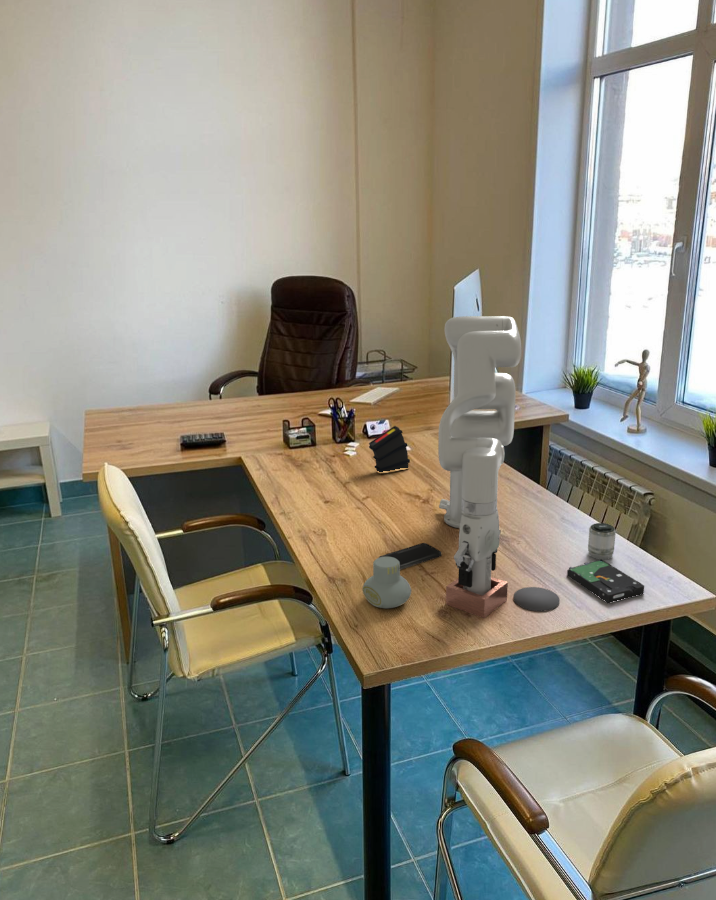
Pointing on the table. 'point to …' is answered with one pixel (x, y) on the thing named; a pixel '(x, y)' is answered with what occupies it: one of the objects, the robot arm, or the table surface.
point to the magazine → (390, 450)
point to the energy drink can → (481, 575)
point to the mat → (536, 599)
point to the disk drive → (605, 581)
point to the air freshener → (386, 584)
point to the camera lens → (601, 541)
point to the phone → (414, 555)
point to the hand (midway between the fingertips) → (477, 576)
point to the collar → (477, 598)
